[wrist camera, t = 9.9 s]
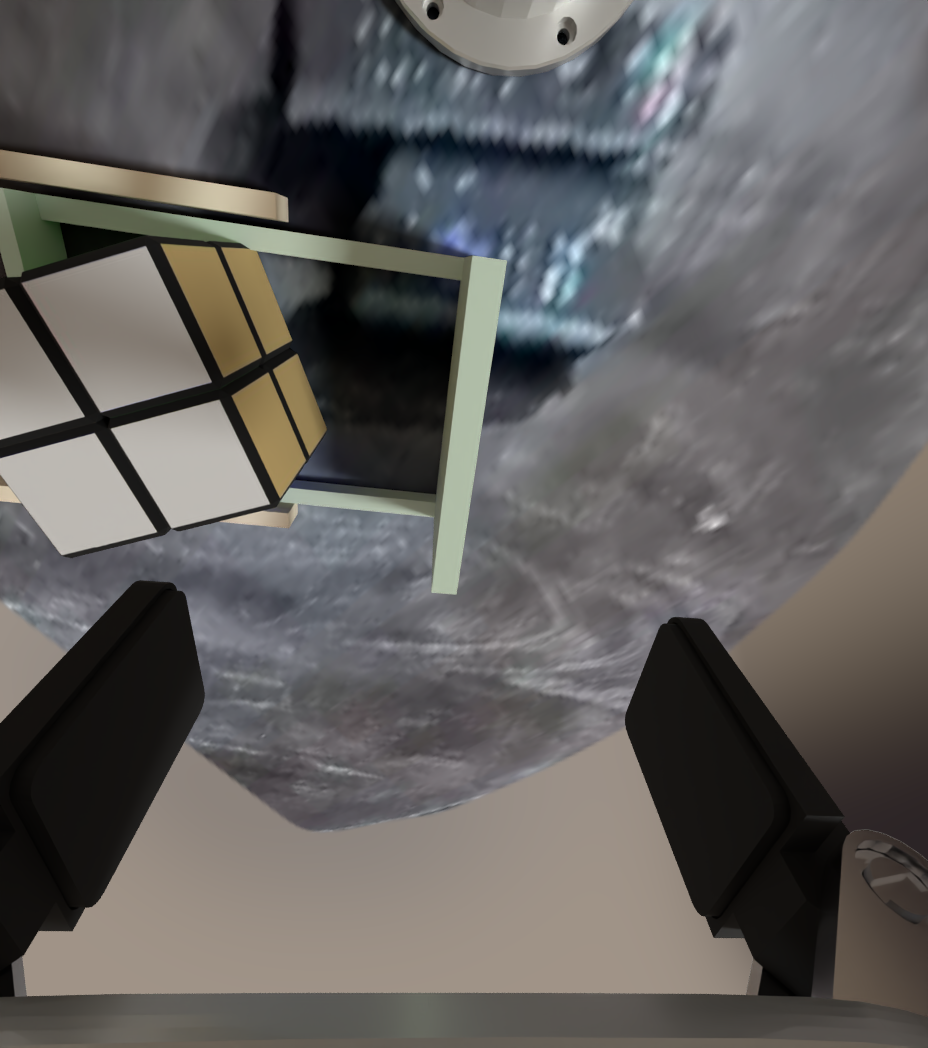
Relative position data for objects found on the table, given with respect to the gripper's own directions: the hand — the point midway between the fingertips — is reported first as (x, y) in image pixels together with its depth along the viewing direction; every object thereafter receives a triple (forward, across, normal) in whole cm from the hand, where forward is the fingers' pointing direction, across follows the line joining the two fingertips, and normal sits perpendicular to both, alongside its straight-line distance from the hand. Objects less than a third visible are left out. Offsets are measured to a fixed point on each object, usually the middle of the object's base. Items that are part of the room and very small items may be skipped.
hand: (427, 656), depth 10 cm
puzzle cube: (+21, +12, 0) cm, 24 cm away
